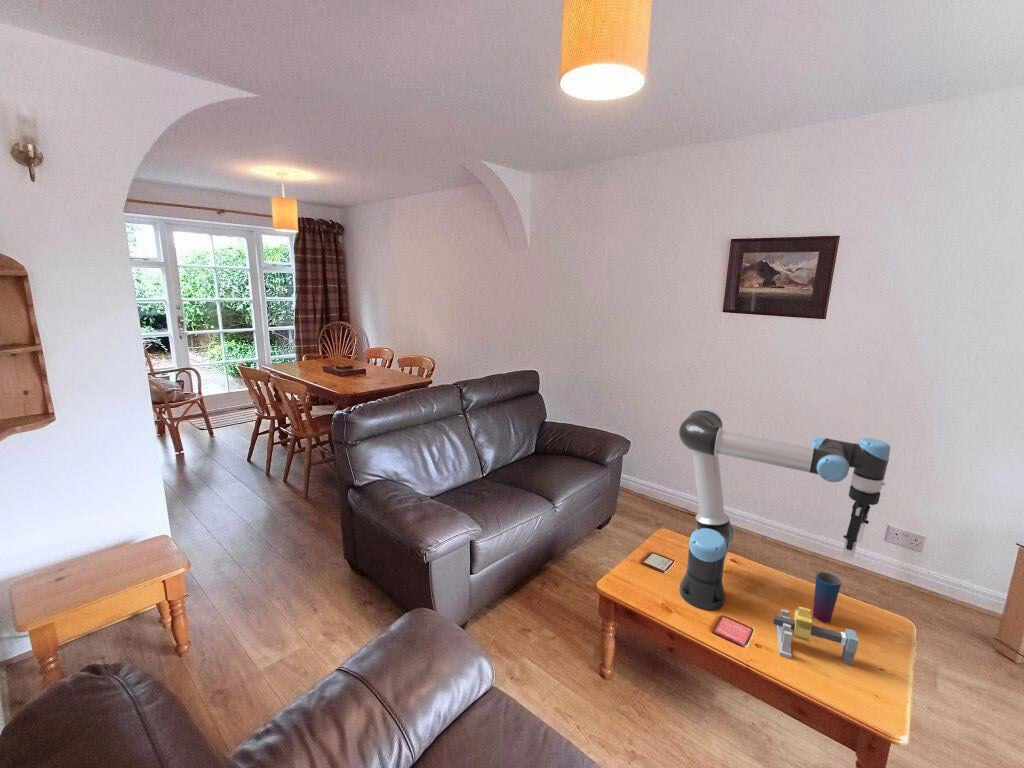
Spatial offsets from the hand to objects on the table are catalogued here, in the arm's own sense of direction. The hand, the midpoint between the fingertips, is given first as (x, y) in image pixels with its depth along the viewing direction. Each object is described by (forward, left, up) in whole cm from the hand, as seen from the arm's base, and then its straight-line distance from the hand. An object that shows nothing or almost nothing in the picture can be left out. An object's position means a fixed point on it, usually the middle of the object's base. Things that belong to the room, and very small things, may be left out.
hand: (851, 548), depth 147 cm
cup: (-5, -1, -27) cm, 27 cm away
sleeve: (-13, -19, -22) cm, 32 cm away
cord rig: (-10, -19, -26) cm, 34 cm away
